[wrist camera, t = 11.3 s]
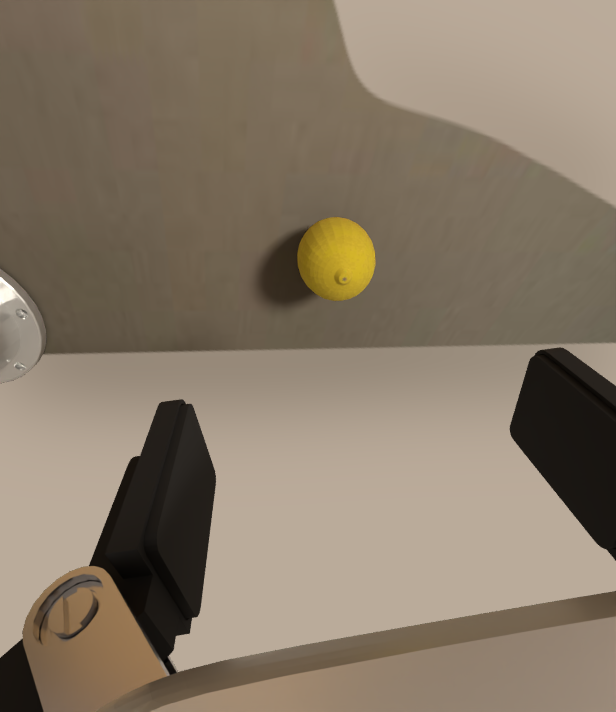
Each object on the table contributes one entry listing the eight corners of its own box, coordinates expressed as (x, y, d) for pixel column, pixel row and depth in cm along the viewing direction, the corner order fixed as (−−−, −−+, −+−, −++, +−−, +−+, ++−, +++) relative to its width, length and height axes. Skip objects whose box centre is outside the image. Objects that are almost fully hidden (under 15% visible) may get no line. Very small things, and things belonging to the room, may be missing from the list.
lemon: (288, 268, 31) (292, 310, 24) (303, 199, 28) (313, 224, 21) (350, 281, 32) (371, 324, 25) (371, 216, 29) (401, 245, 22)
